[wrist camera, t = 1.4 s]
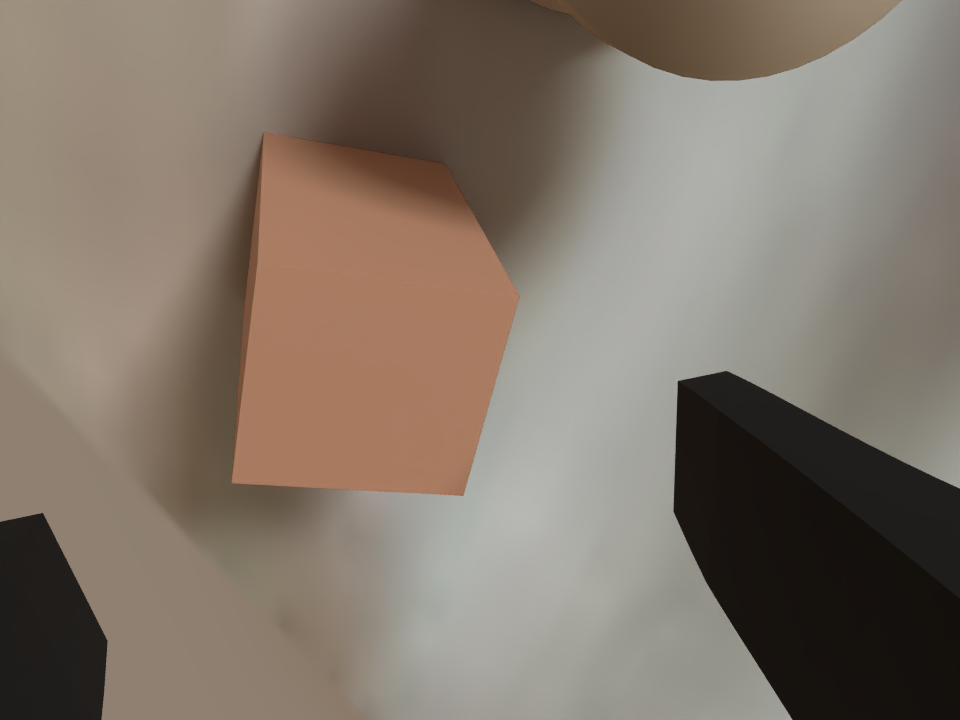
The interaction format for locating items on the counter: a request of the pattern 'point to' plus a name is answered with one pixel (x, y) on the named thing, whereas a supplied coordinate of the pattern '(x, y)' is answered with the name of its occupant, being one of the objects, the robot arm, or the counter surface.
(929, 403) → the counter surface
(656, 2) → the bobbin
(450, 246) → the salmon pink cuboid
